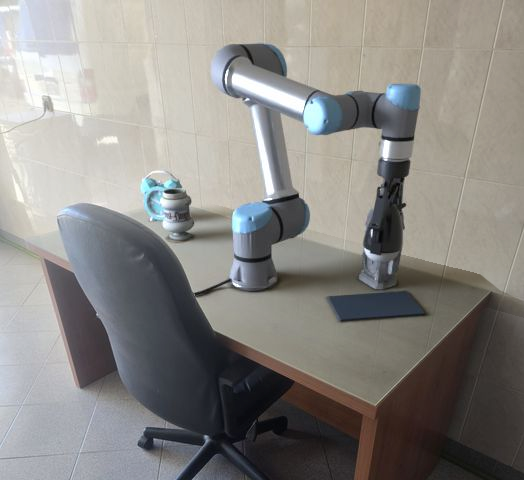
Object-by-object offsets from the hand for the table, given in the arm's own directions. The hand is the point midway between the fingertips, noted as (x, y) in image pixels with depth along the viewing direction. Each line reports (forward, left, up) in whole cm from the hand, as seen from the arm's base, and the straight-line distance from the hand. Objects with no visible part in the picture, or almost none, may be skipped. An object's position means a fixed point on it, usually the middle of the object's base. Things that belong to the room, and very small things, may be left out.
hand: (382, 247), depth 124 cm
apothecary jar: (-56, +66, -18) cm, 89 cm away
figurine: (+7, +16, -18) cm, 25 cm away
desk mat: (0, 0, -18) cm, 18 cm away
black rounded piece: (0, 0, -3) cm, 3 cm away
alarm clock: (-63, +90, -18) cm, 112 cm away
